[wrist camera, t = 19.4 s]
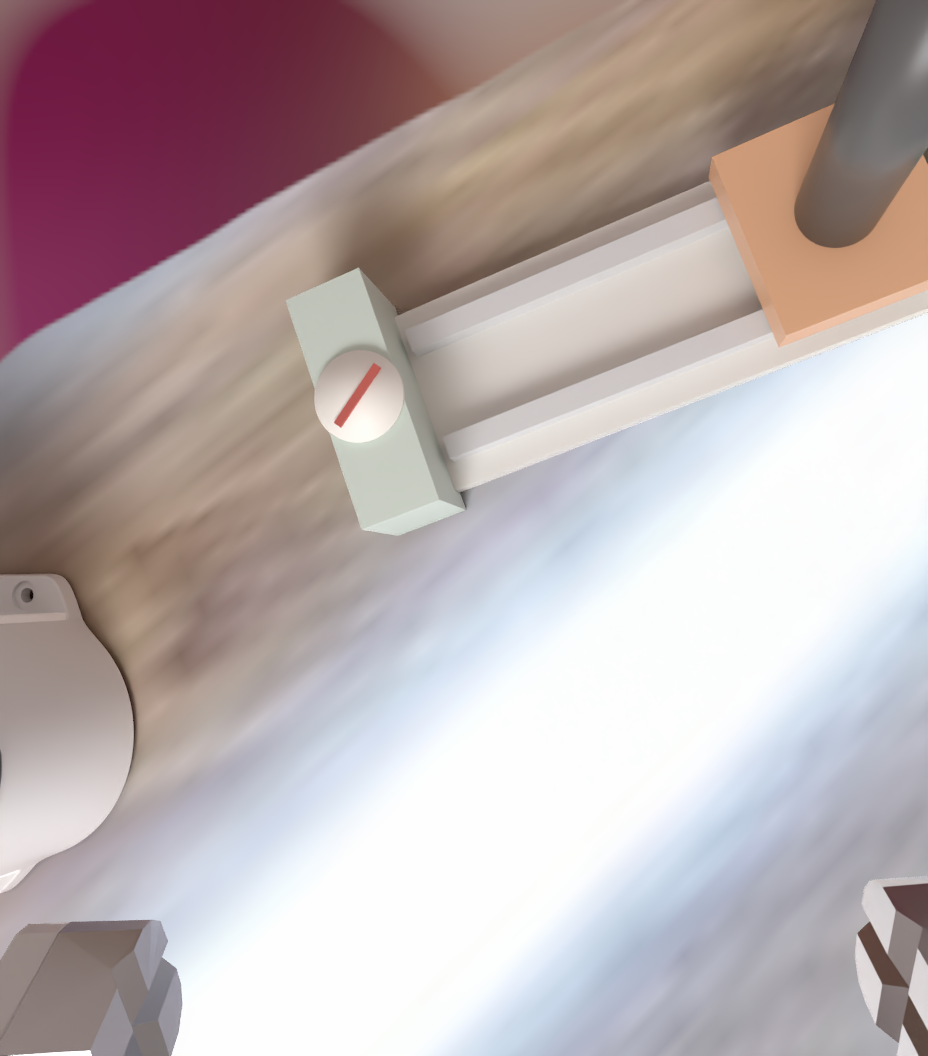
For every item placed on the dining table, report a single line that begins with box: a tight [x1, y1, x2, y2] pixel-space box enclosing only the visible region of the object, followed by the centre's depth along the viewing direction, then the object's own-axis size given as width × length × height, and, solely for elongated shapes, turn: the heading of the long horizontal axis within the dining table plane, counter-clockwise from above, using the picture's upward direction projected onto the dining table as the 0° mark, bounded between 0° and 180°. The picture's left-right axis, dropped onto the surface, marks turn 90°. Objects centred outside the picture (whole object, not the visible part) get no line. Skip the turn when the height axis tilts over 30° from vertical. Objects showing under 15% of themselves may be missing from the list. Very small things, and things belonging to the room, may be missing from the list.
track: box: [285, 148, 928, 536], centre depth 39 cm, size 34×12×6 cm, turn 110°
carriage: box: [709, 0, 928, 348], centre depth 30 cm, size 8×9×17 cm
